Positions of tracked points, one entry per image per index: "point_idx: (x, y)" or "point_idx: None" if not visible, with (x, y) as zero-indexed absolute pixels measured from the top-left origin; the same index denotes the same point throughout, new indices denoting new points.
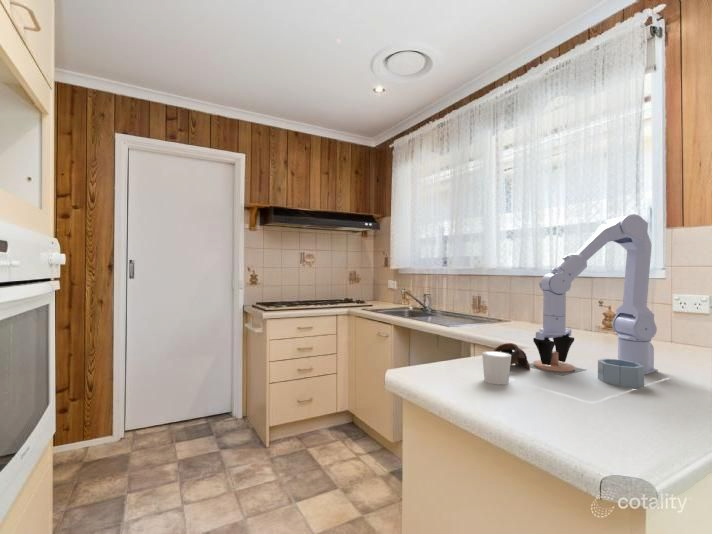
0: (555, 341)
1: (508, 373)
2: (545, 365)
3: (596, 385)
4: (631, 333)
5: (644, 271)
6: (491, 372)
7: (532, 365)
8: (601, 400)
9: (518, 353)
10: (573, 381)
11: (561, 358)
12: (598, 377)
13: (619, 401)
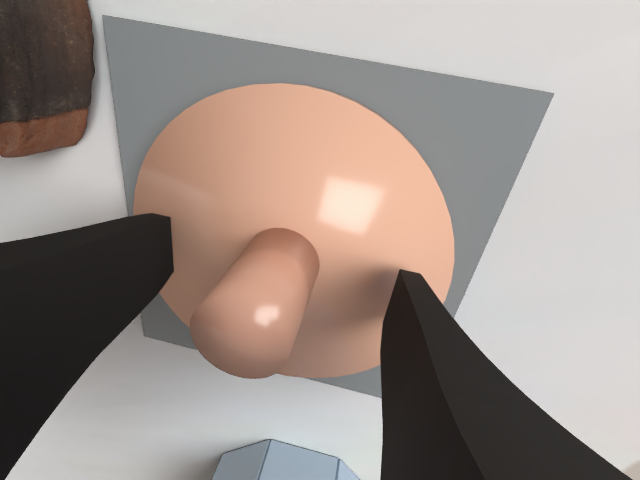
0: (441, 444)
1: None
2: (194, 225)
3: (168, 436)
4: None
5: None
6: None
7: (187, 101)
8: (28, 448)
9: None
10: (131, 374)
11: (389, 322)
12: (258, 453)
13: (72, 477)
